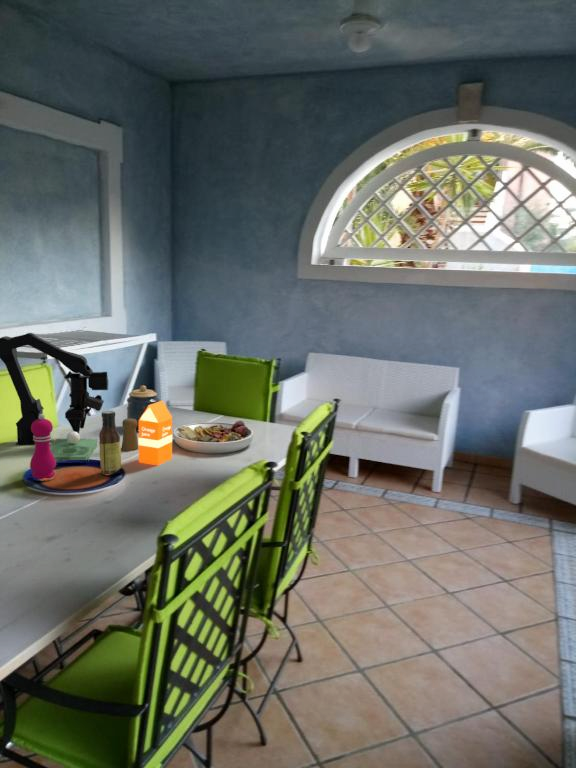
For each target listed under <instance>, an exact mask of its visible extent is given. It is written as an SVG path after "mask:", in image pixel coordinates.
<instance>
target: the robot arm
mask: <svg viewBox="0 0 576 768" xmlns="http://www.w3.org/2000/svg"><path fill="white" fill-rule="evenodd" d="M25 346H29V347H31V348H34V349H36V350H38V351H39V352H41V353H43V354H45V355H47V356H49V357H50V358H53V359H55V360H56V361H59V362H60V363H61V364H62V365H64V366H65V367H66V368H67V369H68V370H69V371H68V372H67V374H65V376H64V379H66V380H67V379H70V380H69V381H70V385H69V387H70V393H69V398H70V404H69V408H68V409H67V410H66V411H65V413H64V417H65V419H66V420H67V421H68V423H69V425H70V427H71V428H72V431H75V432H77V433H79V434H80V430H81V429H84V427H85V423H86V419H87V415H88V413H90V411H91V410H92V409H93V410H95V411H96V412H97V411H98V412H99V411H101V410H102V408H103V404H104V402H105V401H104V399H103V397H102V395H99V394H97V395H96V396H95V397H94V396H91V395H90V393H89V391H88V388H90V389H91V391H108V390H109V379H108V371H93V369H92V368H91V367H90V366H89V365H88V360H87V358H86V357H85V356H84V355H81V354H78V353H74V352H70V351H66V350H64V349H62V348H60V347H59V346H57V345H54V344H52V343H50V342H49V341H47V340H45V339H43V338H41V337H39V336H37V335H35V333H33V332H27V333H25V334H20V335H18V336H17V335H16V336H13V337H10V336H6V335H5V336H1V337H0V360H1V361H2V362H3V363H4V365H5V367H6V370H7V372H8V375H9V378H10V379H11V382H12V384H13V386H14V389H15V392H16V393H17V396H18V399H19V403H20V404H19V405H20V411H21V412H20V413H21V417H20V419H19V420H18V421H17V422H15V426H16V434H17V435H16V438H17V441H16V443H15V445H16V446H17V445H18V446H19V445H20V446H21V445H26V446H27V445H28V446H29V445H30V446H31V445H35V441H34V440H33V439H34V438H33V436H34V434H33V433H32V431H31V425H32V423H33V422H34V421H35V420H38V419H39V418H38V416H39V415H40V414H43V415H44V412H43V410H44V407H43V406H42V403H41V399H40V398H38V399H36V398H34V396H33V394H32V392H31V389H30V388H29V384H28V382H27V380H26V377H25V375H24V372H23V369H22V368H21V366H20V363H19V360H18V351H17V349H19V348H21V347H25Z"/></svg>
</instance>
